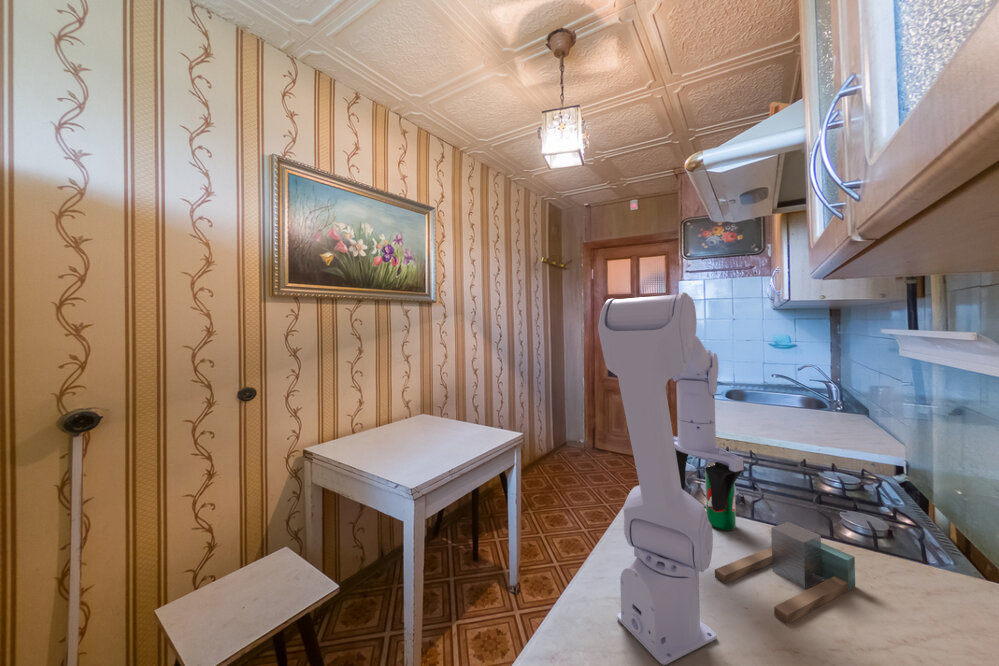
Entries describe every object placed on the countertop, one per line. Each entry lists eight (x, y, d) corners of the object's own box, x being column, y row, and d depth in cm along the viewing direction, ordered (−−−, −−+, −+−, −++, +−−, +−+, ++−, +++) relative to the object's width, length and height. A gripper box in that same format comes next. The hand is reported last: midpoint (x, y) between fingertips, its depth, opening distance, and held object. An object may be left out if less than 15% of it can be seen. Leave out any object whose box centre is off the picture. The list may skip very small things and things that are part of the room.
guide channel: (787, 624, 47) (786, 590, 47) (714, 577, 57) (714, 548, 57) (855, 586, 54) (854, 556, 54) (780, 550, 63) (779, 524, 63)
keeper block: (805, 588, 54) (803, 542, 54) (772, 571, 58) (771, 527, 58) (822, 580, 56) (820, 535, 56) (789, 563, 60) (787, 521, 60)
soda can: (740, 533, 69) (739, 470, 69) (711, 530, 70) (710, 469, 70) (729, 519, 74) (727, 461, 74) (702, 517, 75) (701, 460, 75)
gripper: (755, 426, 56) (757, 513, 56) (676, 409, 69) (678, 479, 69) (725, 432, 53) (727, 523, 53) (649, 413, 67) (651, 486, 66)
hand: (697, 499), depth 61 cm, fingers open, 7 cm apart
